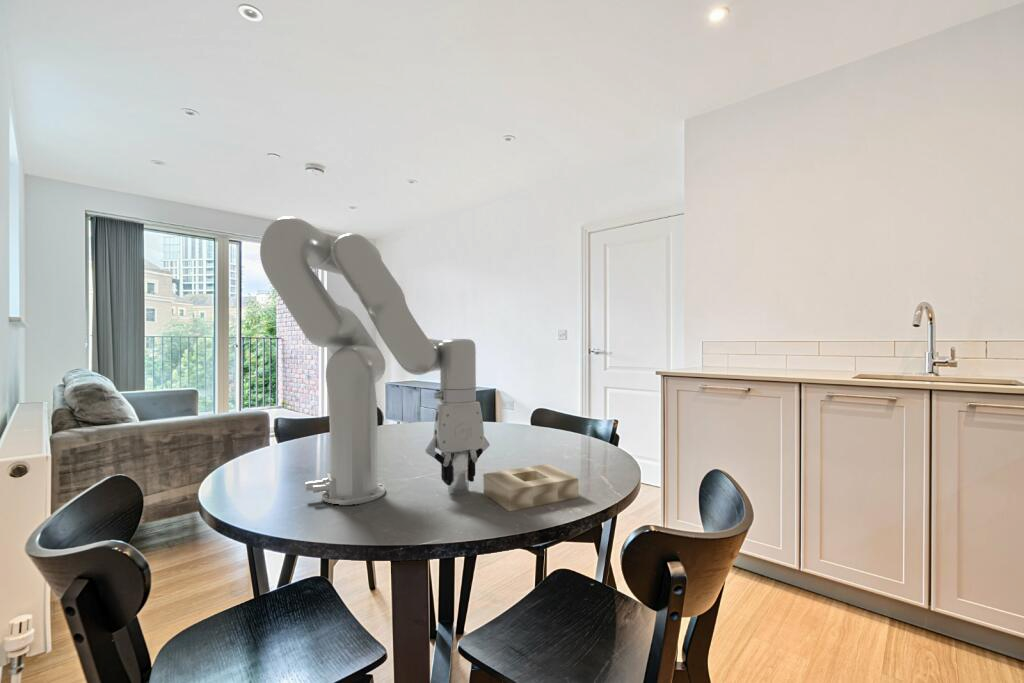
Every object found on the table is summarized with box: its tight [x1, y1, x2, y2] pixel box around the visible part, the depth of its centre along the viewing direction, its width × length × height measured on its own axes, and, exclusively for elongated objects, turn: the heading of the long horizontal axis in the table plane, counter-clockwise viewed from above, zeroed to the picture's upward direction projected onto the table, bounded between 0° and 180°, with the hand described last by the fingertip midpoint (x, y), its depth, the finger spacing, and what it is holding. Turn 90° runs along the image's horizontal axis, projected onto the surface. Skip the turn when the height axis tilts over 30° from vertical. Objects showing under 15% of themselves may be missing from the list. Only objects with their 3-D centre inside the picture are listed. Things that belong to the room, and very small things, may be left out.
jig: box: [482, 463, 579, 512], centre depth 94 cm, size 16×12×4 cm
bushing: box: [447, 451, 470, 496], centre depth 96 cm, size 4×4×9 cm
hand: (458, 480), depth 96 cm, fingers closed on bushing, 4 cm apart
